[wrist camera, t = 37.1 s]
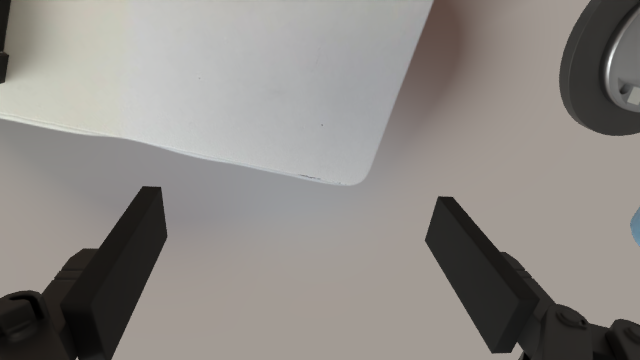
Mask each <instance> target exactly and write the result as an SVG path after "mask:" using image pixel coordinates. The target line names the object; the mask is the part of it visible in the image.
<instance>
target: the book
mask: <svg viewBox="0 0 640 360" xmlns="http://www.w3.org/2000/svg"><path fill="white" fill-rule="evenodd" d="M10 2H11V0H0V84H1V83H4V82H5V76H6V69H7V63H8V57H9V55H8V54H6V53H3V48H4V41H5V35H6V28H7V22H8V15H9V9H10Z"/></svg>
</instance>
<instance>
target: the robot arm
mask: <svg viewBox="0 0 640 360" xmlns="http://www.w3.org/2000/svg"><path fill="white" fill-rule="evenodd" d="M599 83H600V87H601V90H602V93H603V95H604V96H605V98H606V99H607V100H608V101H609V102H610V103H611V104H613V105H615V106H617V107H619V108H622V109H625V110H628V111H632V112H640V1H639V2H638V3H637V4H636V5H635V6H634V7H633V8H632V9H631V10H630V11H629V12H628V13H627V14H626V15H625V16H624V17H623V18H622V20H621V21H620V22H619V24H618V25H617V26H616V28H615V29H614V31H613V33H612V34H611V36H610V38H609V40H608V42H607V44H606V46H605V48H604V51H603V54H602V57H601V61H600V66H599ZM630 226H631V230H632V235H633V237H634V239H635V241H636V242H637V244H638V245H639V246H640V207H639V209H638V210H637V212H636V213H635V215H634V216H633V218H632V220H631V223H630ZM166 238H167V229H166V222H165V214H164V206H163V199H162V191H161V187H148V186H143V187H142V188H141V189H140V191H139V192H138V194H137V195H136V197H135V198H134V199H133V201H132V202H131V204H130V205H129V206H128V208H127V209H126V211H125V212H124V214H123V215H122V217H121V218H120V219H119V221H118V222H117V223H116V225H115V226H114V228H113V229H112V231H111V232H110V233H109V235H108V236H107V238H106V239H105V241H104V242H103V243H102V245H101V246H100V248H99V249H82V250H81V251H79V252H78V253H77V254H75V255H74V256H72V257H71V258H70V259H69V260H68V261H67V263H66V264H65V265H64V266H63V267H62V270H61V271H59V273H58V274H57V275H56V276H55V279H54V280H52V281H51V283H50V284H49V285H48V286H47V288H46V289H45V290H44V292H43V293H42V294H40V293H39V292H35V291H31V290H28V291H19V292H15V293H12V294H8V295H6V296H4V297H2V298H0V360H75V359H76V358H77V356H78V359H79V360H111V359H112V357H113V355H114V352H115V350H116V348H117V346H118V344H119V341H120V339H121V337H122V335H123V333H124V331H125V328H126V326H127V324H128V322H129V320H130V317H131V315H132V313H133V311H134V309H135V306H136V304H137V302H138V300H139V298H140V296H141V293H142V291H143V289H144V287H145V285H146V282H147V280H148V278H149V276H150V274H151V271H152V269H153V267H154V265H155V263H156V261H157V258H158V256H159V254H160V252H161V250H162V248H163V245H164V243H165V241H166ZM425 242H426V243H427V245H428V247H429V248H430V250H431V252H432V253H433V255H434V257H435V258H436V260H437V262H438V263H439V265H440V267H441V269H442V270H443V272H444V273H445V275H446V277H447V279H448V280H449V282H450V284H451V285H452V287H453V289H454V290H455V292H456V294H457V295H458V297H459V299H460V300H461V302H462V304H463V306H464V307H465V309H466V311H467V312H468V314H469V316H470V317H471V319H472V321H473V322H474V324H475V326H476V328H477V329H478V330H479V333H480V334H481V336H482V338H483V339H484V341H485V343H486V344H487V346H488V348H489V349H490V351H491V353H511V352H512V350H513V348H514V346H515V344H516V343H517V342H518V343H519V345H520V346H521V348H522V349H523V352H522V354H521V356H520V358H519V359H518V360H640V325H639V324H636V323H634V322H631V321H628V320H624V319H618V320H615V321H614V323H613V324H612V325H611V327H610V328H607V327H602V326H598V325H594V324H590V323H588V321H587V320H586V319H585V318H584V317H583V316H582V315H581V314H579V313H578V312H577V311H575V310H573V309H571V308H569V307H567V306H564V305H560V304H556V303H555V302H554V301H553V300H552V299H551V298H550V296H549V295H548V294H547V293H546V292H545V291H544V290H543V289H542V288H541V286H540V285H538V283H537V282H536V281H535V280H534V279H532V278H531V277H532V276H531V275H530V274H529V273H528V272H527V271H525V269H524V267H522V265H521V264H520V263H519V262H518V261H517V260H516V259H515V258H513V257H511V256H510V255H509V254H507V253H506V252H499V250H498V249H497V248H496V247H495V246H494V245H493V243H492V242H491V241H490V240H489V239H488V238H487V237H486V235H485V234H484V233H483V232H482V231H481V230H480V228H479V227H478V226H477V225H476V224H475V223H474V221H473V220H472V219H471V218H470V217H469V216H468V214H467V213H466V212H465V211H464V210H463V209H462V208H461V206H460V205H459V204H458V203H457V202H456V200H455V199H454V198H453V197H441V196H439V197H438V199H437V202H436V205H435V209H434V212H433V216H432V218H431V222H430V225H429V228H428V232H427V235H426V238H425Z"/></svg>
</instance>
